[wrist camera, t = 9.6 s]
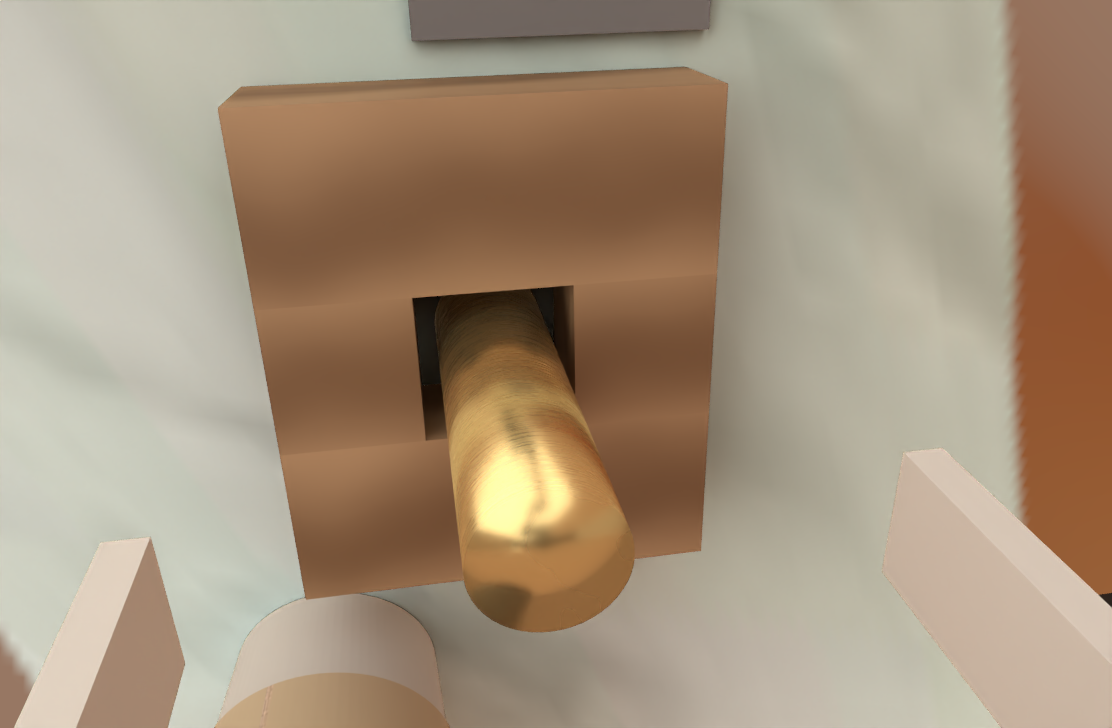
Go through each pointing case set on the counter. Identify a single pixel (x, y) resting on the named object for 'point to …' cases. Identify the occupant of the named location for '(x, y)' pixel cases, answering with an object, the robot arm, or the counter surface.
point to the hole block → (476, 288)
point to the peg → (525, 470)
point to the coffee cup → (335, 669)
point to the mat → (551, 17)
